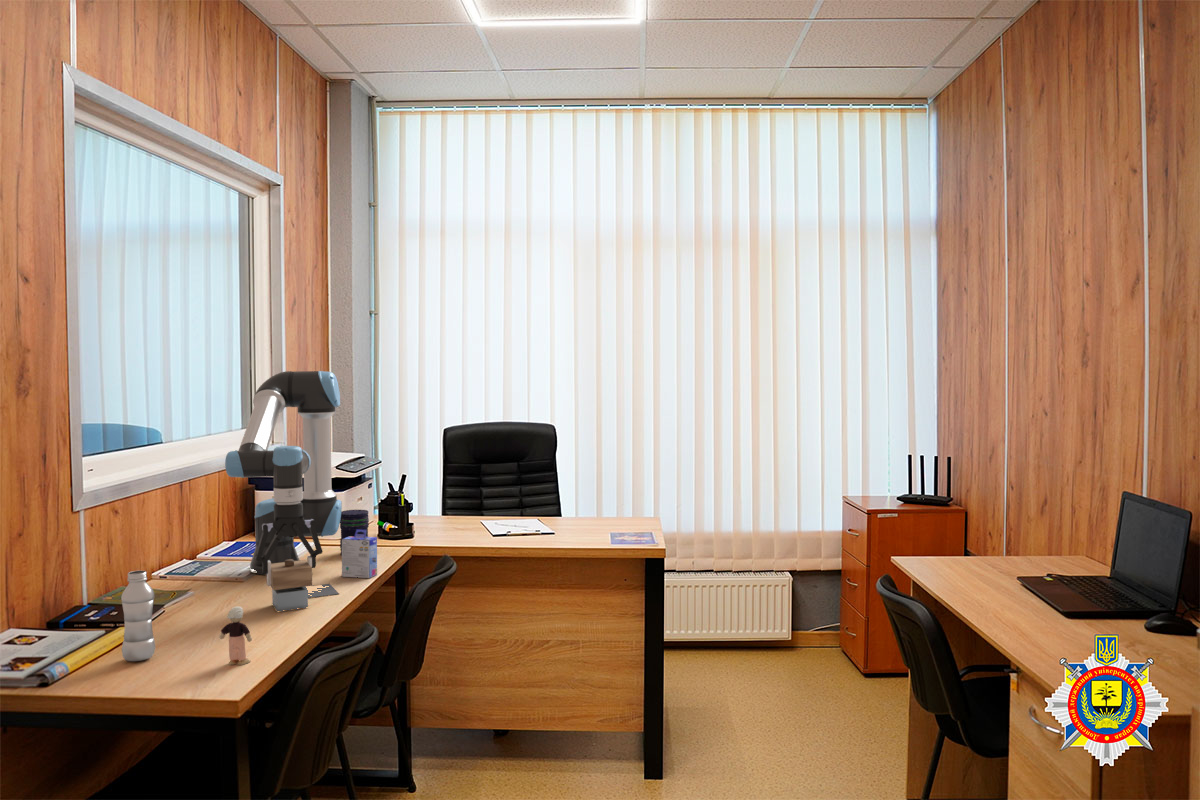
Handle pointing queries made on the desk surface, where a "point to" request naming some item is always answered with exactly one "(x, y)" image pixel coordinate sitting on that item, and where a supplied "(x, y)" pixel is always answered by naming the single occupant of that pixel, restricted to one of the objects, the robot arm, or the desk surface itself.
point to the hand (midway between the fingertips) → (289, 582)
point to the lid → (290, 574)
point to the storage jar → (353, 523)
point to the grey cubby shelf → (290, 598)
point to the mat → (324, 591)
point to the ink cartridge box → (359, 556)
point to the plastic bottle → (138, 618)
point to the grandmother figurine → (236, 637)
